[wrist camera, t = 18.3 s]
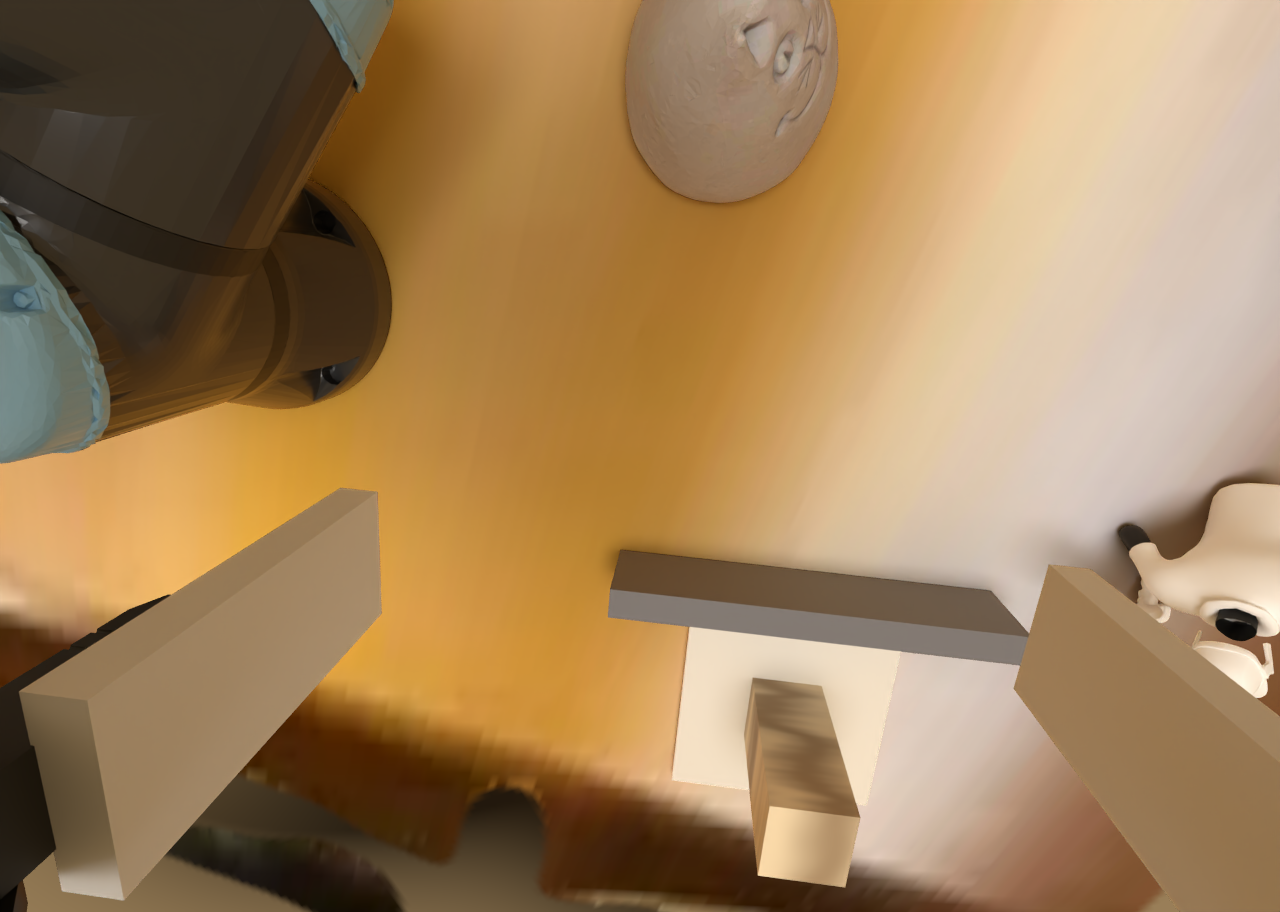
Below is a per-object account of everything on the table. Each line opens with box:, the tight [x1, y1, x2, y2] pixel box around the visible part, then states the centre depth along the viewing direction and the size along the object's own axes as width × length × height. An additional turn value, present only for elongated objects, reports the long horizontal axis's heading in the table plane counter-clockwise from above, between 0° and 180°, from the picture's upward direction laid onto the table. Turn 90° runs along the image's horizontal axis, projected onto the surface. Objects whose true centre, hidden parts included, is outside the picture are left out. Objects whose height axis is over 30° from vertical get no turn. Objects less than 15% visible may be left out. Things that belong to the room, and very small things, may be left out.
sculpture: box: [625, 0, 838, 203], centre depth 32 cm, size 13×12×15 cm
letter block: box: [744, 678, 860, 887], centre depth 43 cm, size 5×5×12 cm
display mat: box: [672, 627, 901, 806], centre depth 50 cm, size 15×15×1 cm
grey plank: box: [608, 550, 1029, 665], centre depth 44 cm, size 26×2×6 cm, turn 85°
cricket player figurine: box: [1119, 483, 1280, 698], centre depth 38 cm, size 13×10×15 cm
